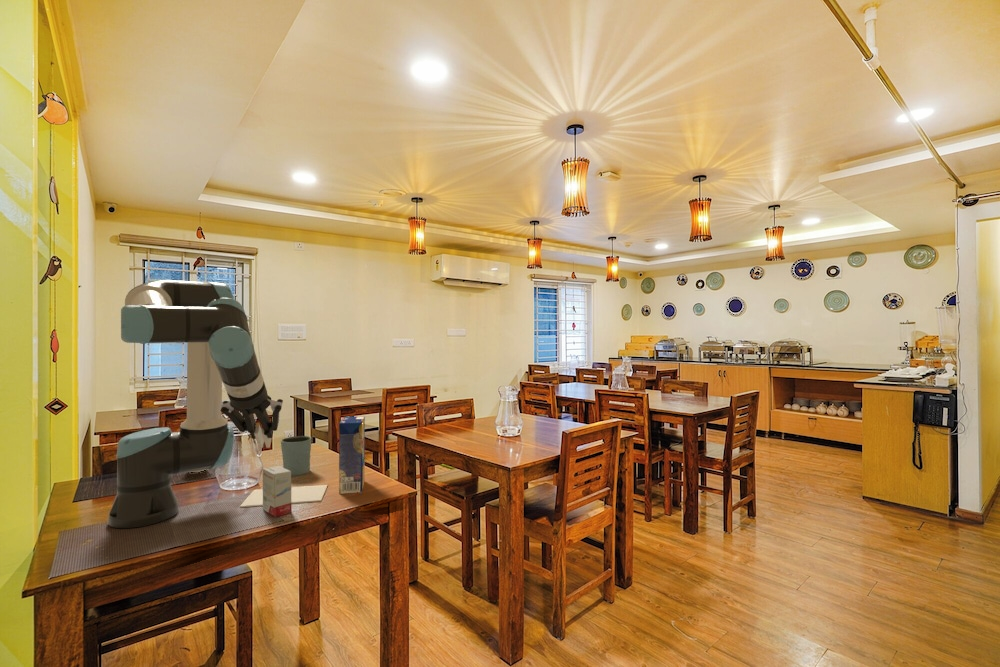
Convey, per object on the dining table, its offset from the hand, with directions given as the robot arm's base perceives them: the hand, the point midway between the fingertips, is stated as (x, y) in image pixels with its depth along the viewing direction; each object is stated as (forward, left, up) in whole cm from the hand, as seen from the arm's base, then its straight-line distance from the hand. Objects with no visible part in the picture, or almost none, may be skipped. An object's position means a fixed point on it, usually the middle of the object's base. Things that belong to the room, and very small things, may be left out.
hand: (265, 443), depth 119 cm
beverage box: (+19, +28, -22) cm, 41 cm away
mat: (0, +24, -22) cm, 33 cm away
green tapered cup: (-2, +49, -22) cm, 54 cm away
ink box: (0, +12, -22) cm, 25 cm away
